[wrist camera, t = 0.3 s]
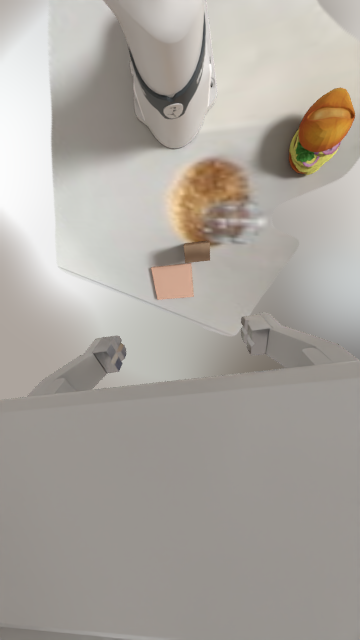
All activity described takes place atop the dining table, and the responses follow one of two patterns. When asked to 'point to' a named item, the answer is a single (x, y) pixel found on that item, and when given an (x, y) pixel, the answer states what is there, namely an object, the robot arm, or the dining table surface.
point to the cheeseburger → (321, 131)
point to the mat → (173, 281)
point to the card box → (197, 251)
